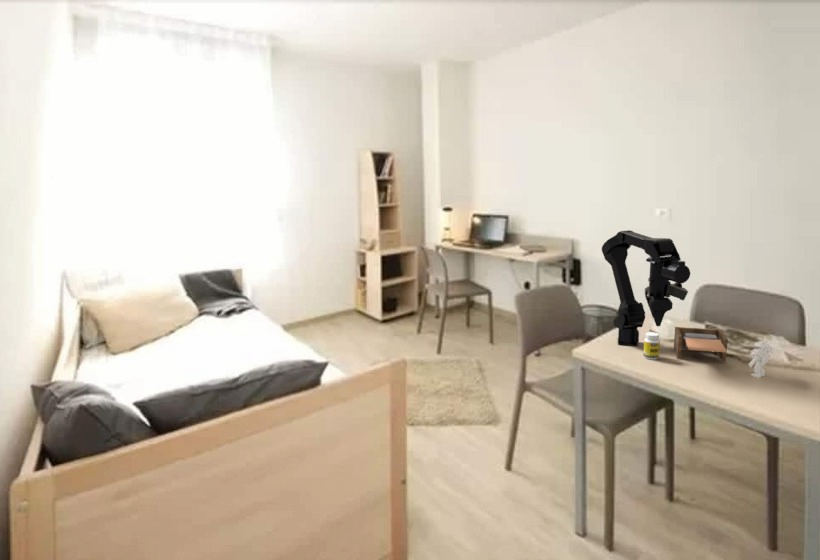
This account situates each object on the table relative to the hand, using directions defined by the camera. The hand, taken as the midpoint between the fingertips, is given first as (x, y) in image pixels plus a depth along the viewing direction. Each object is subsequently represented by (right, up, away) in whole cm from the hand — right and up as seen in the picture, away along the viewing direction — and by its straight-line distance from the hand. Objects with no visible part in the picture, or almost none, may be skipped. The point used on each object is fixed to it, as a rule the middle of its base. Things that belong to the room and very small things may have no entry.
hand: (656, 321), depth 164 cm
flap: (+13, -10, -5) cm, 17 cm away
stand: (+15, -12, +2) cm, 19 cm away
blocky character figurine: (+23, -15, -15) cm, 32 cm away
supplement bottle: (-1, -13, +3) cm, 13 cm away
